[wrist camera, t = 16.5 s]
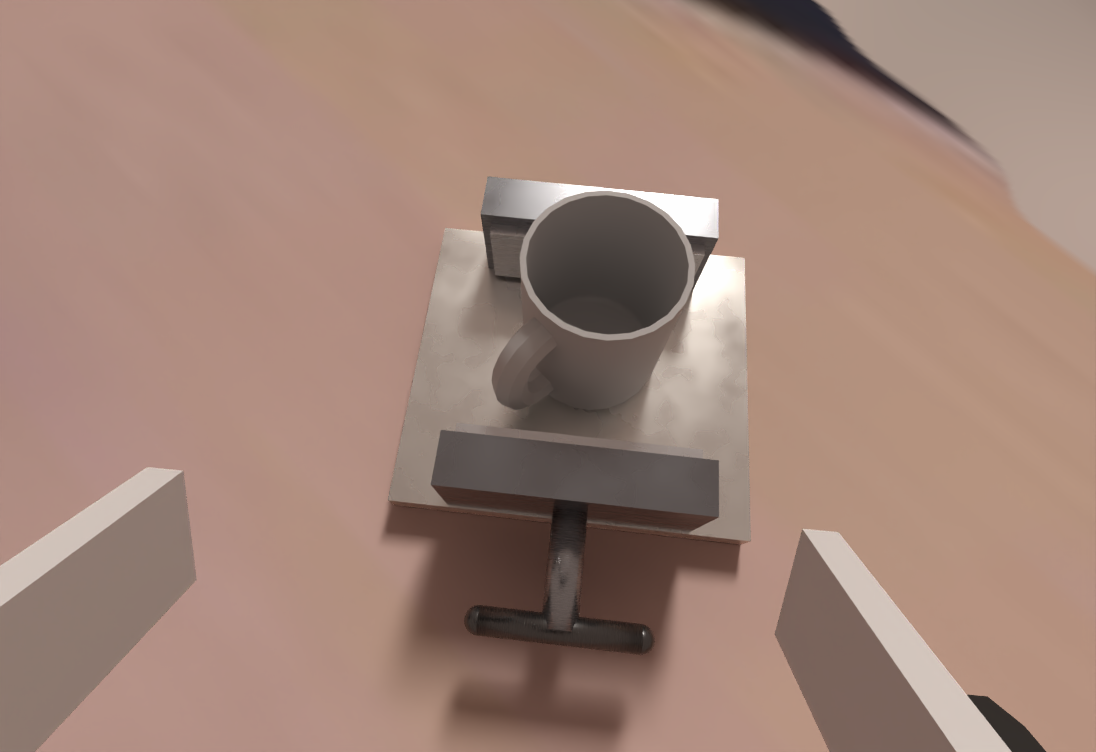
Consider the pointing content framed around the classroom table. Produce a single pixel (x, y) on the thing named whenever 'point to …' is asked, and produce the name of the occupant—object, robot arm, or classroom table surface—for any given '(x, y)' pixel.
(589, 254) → the cup
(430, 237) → the classroom table surface
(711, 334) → the vise
